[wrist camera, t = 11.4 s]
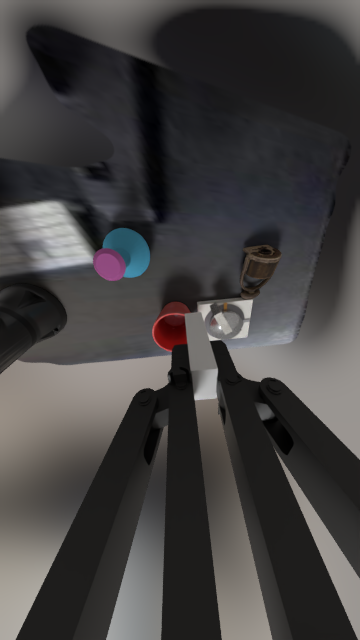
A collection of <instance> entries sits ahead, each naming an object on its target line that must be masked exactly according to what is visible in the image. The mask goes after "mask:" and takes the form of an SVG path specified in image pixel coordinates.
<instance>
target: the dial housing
mask: <svg viewBox="0 0 360 640" xmlns="http://www.w3.org/2000/svg"><path fill="white" fill-rule="evenodd" d="M215 302H216V303H217V305H218V306H219V308H220V310H224V309H230V310H233V311H235V312H237V313H238V315H239V316H240V318H241V319H242V322H243V327H242V329H241V331H240V333H239V334H238V335H236V336H235V337H233V338H244V337H247V335H248V329H249V322H250V315H251V309H252V302H253V299H244V298H242V297H240V298H230V299H220V300H210V301H200V302H197V312H201V313H202V317H203V320H204V323H205V327H206V330H207V334H208V337H209V340H210V341H212V340H221V339H218V338H216V337H214V336H213V335H212V333H211V330H210V327H209V322H210V319H211V317H212V316H213V313H212V311H211V309H210V305H212V304H213V303H215ZM233 338H231V339H233Z"/></svg>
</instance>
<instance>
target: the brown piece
mask: <svg viewBox="0 0 360 640" xmlns="http://www.w3.org/2000/svg"><path fill="white" fill-rule="evenodd" d="M243 251H244V252H245V253H246V254H247V255H246V258H245V261H244V265H243V269H242V272H241V275H240V285H241V287H242V288H243V289H244V290H245V291H243V292H241V294H240V295H241V297H242V298H244V299H252V298H255V297H256V296H258V295H259V294H260V291H259V290H257V289H259V288H261V287H262V286H263V285H265V284H266V283H267V282H268V280H269V279H270V278H271V277H272V275H273V273H274V271H275V269H276V267H277V264H278V262H279V260H280V258H281V252H280V251H279V250H278V249H276V248H272V247H271V246H269V245H262V246H253V247H247V248H244V249H243ZM245 274H246V275H248V276H250V277H253V278H257V279H264V280H263V281H262V282H261V283H260V284H258V285H257V286H255V287H250V288H246V287H244V285H243V279H244V275H245Z"/></svg>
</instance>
